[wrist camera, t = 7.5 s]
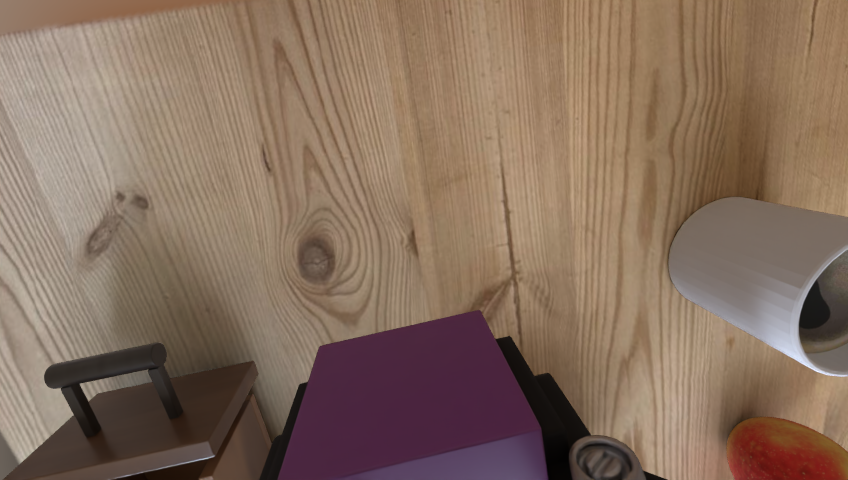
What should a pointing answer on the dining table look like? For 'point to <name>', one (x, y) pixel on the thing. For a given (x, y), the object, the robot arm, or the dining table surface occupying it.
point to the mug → (770, 275)
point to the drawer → (152, 423)
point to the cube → (415, 409)
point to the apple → (783, 452)
